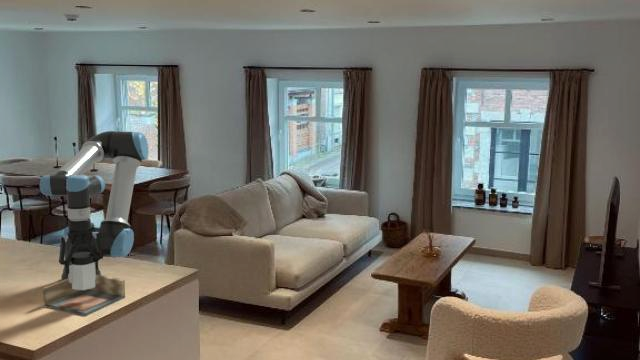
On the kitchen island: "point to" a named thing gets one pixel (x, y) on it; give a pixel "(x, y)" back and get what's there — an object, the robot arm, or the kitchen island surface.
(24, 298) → the kitchen island surface
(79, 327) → the kitchen island surface
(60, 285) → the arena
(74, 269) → the jar
